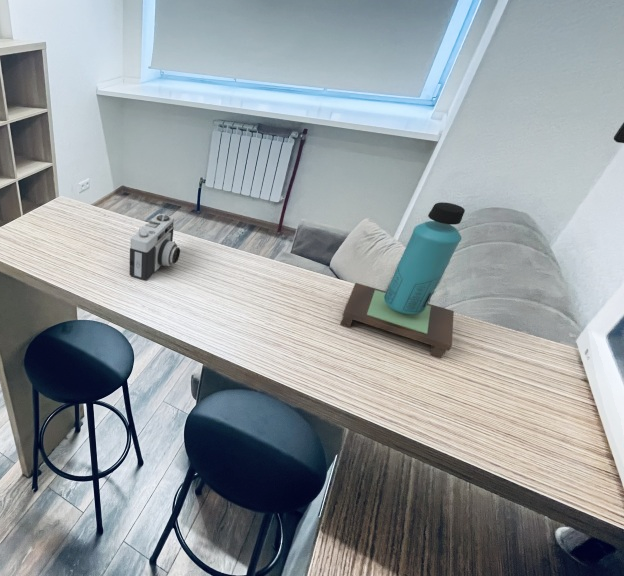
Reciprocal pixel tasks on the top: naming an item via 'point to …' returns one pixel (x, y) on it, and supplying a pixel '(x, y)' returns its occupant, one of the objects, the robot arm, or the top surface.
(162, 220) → the camera
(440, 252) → the beverage bottle
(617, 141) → the robot arm
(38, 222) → the top surface
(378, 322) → the shelf
